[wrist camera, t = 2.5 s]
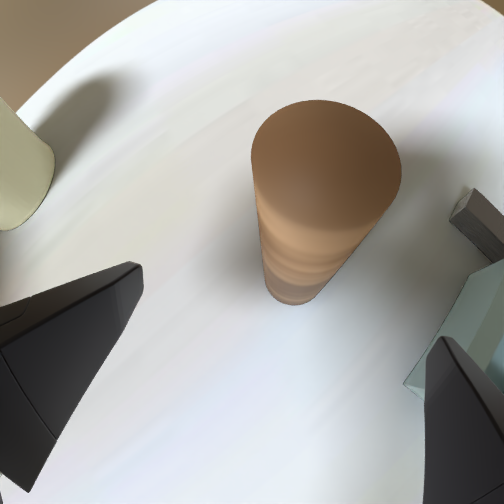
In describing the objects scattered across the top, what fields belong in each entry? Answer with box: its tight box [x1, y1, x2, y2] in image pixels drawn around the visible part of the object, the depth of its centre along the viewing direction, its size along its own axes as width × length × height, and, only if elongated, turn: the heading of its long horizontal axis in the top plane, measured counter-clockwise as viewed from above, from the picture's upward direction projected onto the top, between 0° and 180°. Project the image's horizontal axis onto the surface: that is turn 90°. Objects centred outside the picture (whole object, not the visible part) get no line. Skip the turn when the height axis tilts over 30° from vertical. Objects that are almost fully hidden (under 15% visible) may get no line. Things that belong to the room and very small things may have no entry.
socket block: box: [403, 259, 504, 401], centre depth 14 cm, size 9×9×5 cm
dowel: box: [251, 100, 401, 305], centre depth 13 cm, size 4×4×13 cm
